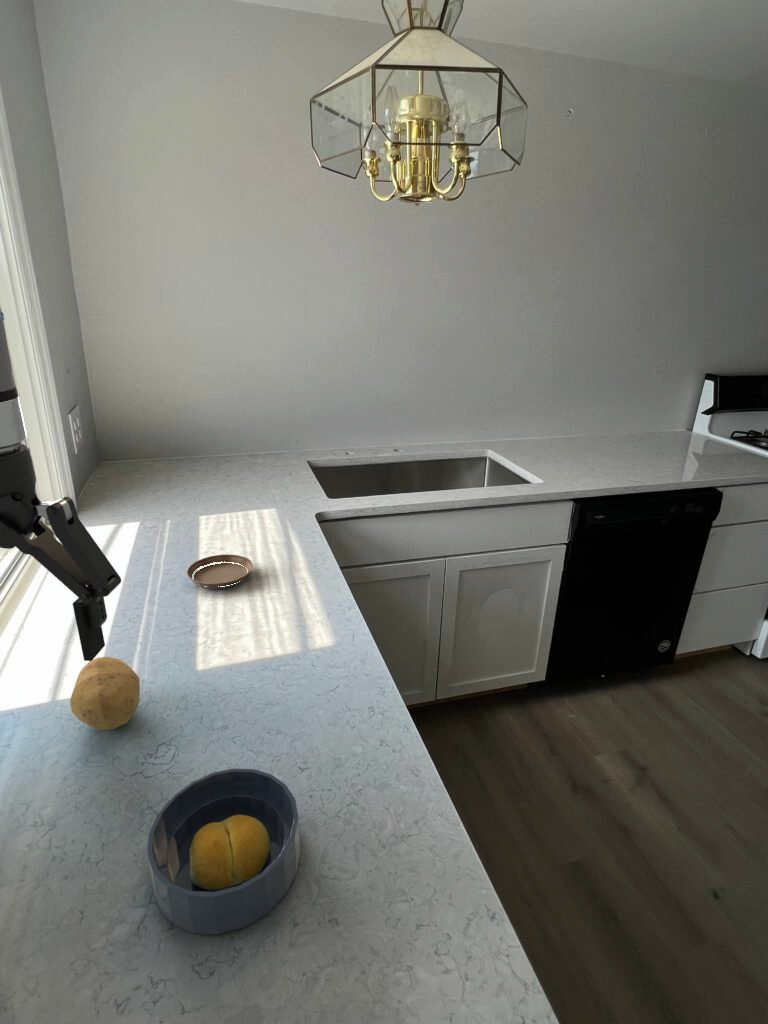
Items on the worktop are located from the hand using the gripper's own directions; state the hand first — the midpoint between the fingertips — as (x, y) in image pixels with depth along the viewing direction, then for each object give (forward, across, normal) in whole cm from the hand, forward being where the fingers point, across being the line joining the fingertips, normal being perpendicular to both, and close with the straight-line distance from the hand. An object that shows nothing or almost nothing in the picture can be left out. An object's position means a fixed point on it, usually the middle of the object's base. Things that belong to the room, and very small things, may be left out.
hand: (29, 651), depth 57 cm
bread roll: (+26, -19, +2) cm, 33 cm away
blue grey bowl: (+27, -19, +2) cm, 33 cm away
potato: (+27, +6, -21) cm, 35 cm away
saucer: (+27, +3, -68) cm, 73 cm away
